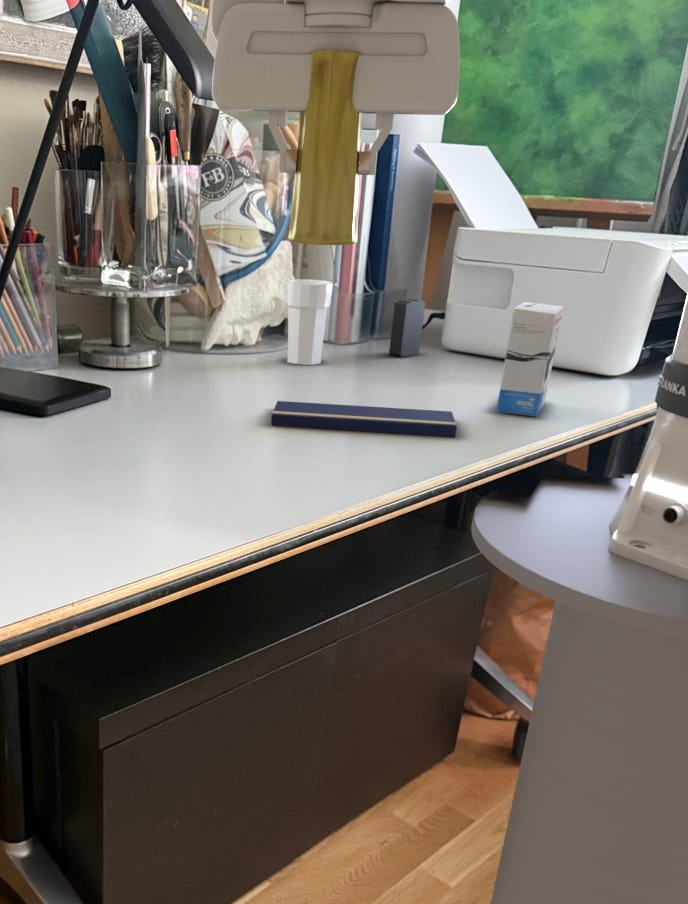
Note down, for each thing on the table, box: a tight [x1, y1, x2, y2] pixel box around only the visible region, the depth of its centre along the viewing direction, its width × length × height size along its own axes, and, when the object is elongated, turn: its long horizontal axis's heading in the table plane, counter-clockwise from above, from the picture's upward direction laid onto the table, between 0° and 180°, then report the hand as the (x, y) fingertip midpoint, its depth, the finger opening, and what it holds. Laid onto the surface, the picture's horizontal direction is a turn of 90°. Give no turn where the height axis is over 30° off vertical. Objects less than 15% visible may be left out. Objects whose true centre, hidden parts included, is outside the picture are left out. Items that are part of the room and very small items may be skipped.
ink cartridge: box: [388, 298, 426, 358], centre depth 143 cm, size 5×2×8 cm, turn 133°
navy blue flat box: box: [270, 400, 458, 438], centre depth 105 cm, size 20×7×1 cm, turn 81°
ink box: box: [495, 301, 565, 417], centre depth 111 cm, size 8×5×12 cm, turn 155°
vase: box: [287, 51, 364, 246], centre depth 80 cm, size 6×6×14 cm
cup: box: [285, 278, 334, 366], centre depth 135 cm, size 7×7×11 cm
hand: (327, 174), depth 80 cm, fingers closed on vase, 5 cm apart
